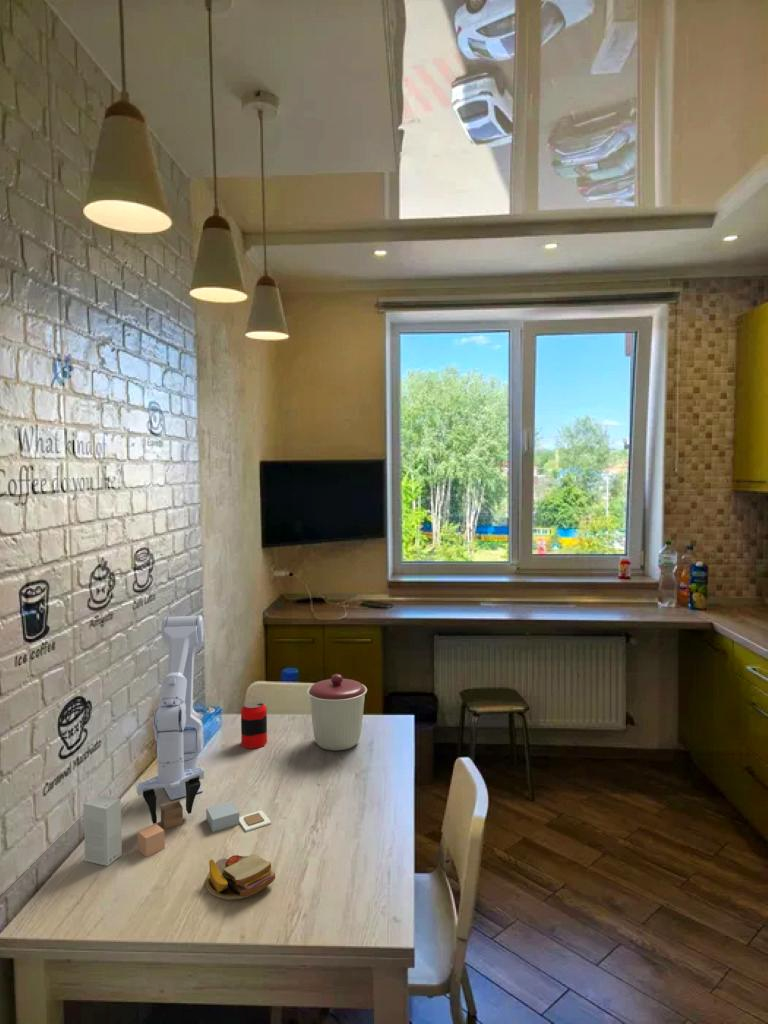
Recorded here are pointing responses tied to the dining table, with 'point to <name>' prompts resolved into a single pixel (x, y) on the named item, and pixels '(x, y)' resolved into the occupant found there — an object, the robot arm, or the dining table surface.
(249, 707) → the soda can
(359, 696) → the canister
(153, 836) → the terracotta cube
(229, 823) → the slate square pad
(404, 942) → the dining table surface
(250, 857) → the toy sandwich meal
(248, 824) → the swatch
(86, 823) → the skincare box
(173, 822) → the walnut cube
